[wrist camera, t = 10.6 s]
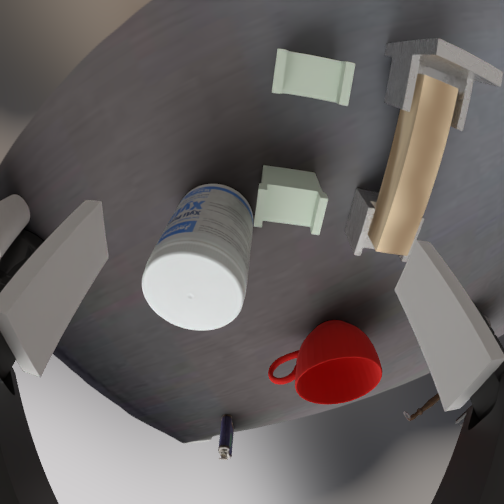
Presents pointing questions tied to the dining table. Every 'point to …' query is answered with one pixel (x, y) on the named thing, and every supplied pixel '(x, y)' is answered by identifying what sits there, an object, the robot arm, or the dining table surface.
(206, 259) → the supplement tub
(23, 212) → the dixie cup
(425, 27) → the dining table surface
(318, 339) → the ceramic cup
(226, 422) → the flask
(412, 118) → the rail
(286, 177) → the rack
